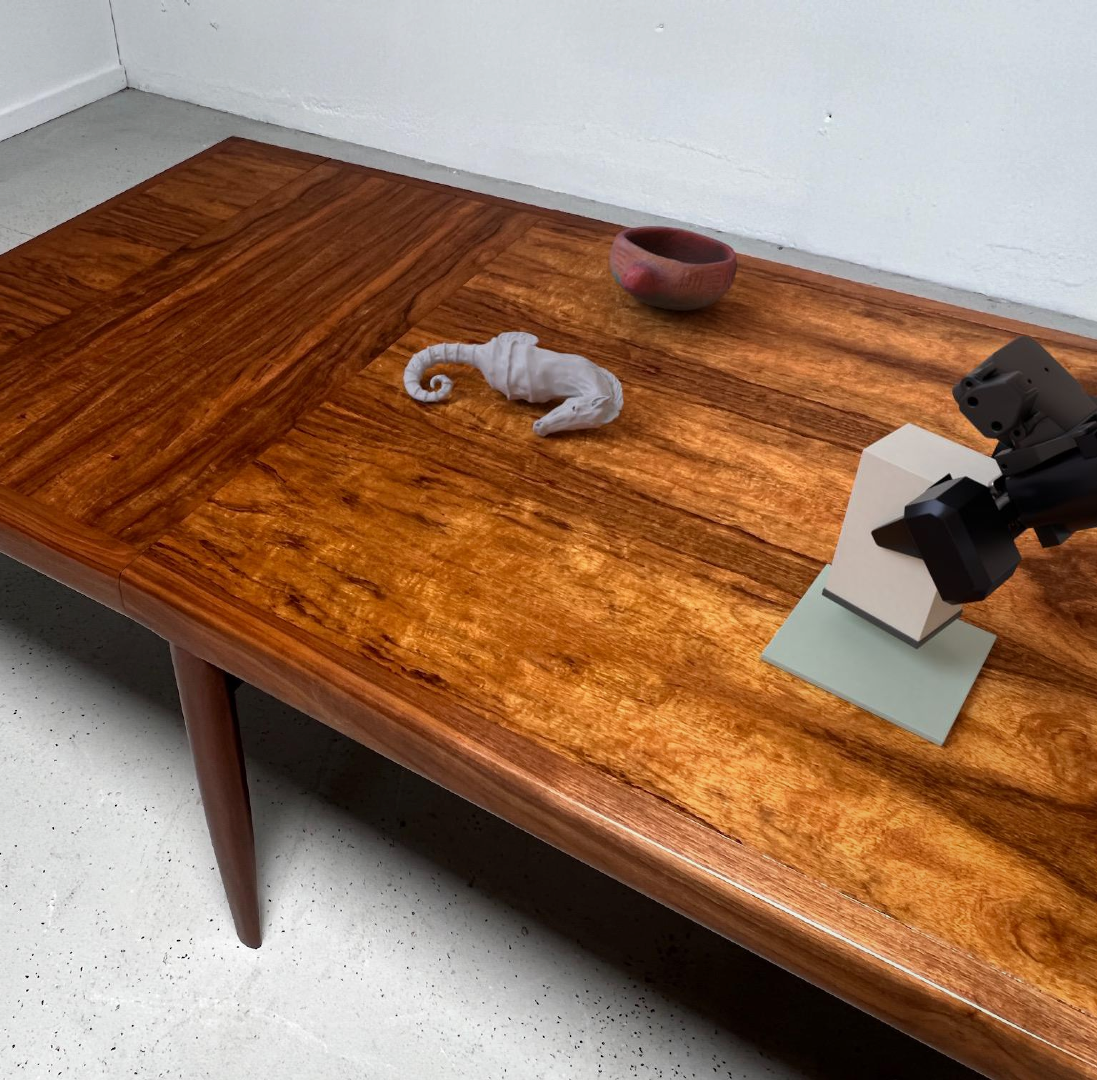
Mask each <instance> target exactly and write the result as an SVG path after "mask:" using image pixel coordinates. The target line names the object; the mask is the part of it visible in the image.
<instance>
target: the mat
mask: <svg viewBox="0 0 1097 1080" xmlns="http://www.w3.org/2000/svg"><path fill="white" fill-rule="evenodd" d="M831 566H832V564H830V563H826V564H825V566H824V567H823V568H822V570H821V571H820V572H819V574H818V576H816V578H815V579H814V581H813V582H812V584H811V585H810V586H809V587H808V589H807V591H806V592H805V593H804V594H803V596H802V597H801V598H800V600H799V602H798V603H797V604H796V605H795V607H793V609H792V611H791V612H790V614H789V615H788V616H787V618H786V619H785V620H784V622H783V623H782V624H781V626H780V628H779V629H778V630H777V632H776V633H775V634H774V636H773V637H772V639H771V640H770V641H769V642H768V644H767V645H766V647H765V648H764V649H763V651H762V653H761V654H760V656H759V659H760V660H761V661H764V662H766V663H768V664H770V665H772V666H774V667H776V668H778V669H780V670H782V671H784V672H787V673H789V674H790V675H792V676H795V677H797V678H798V679H800V680H803V681H805V682H807V683H809V684H811V685H813V686H816V687H817V688H819V689H821V690H823V691H826V692H827V693H829V694H832V695H834V696H835V697H838V698H840V699H842V700H844V701H846V702H847V703H850V704H852V705H855V706H857V707H859V708H860V709H863V710H865V711H867V712H869V713H871V714H873V715H875V716H877V717H879V718H881V719H883V720H885V721H887V722H889V723H892V724H893V725H896V726H898V727H900V728H902V729H904V730H906V731H907V732H910V733H912V734H914V735H916V736H917V737H920V738H923V740H926V741H928V742H930V743H932V744H934V745H936V746H939V747H943V745H944V744H945V741H946V739H947V737H948V736H949V733H950V731H951V729H952V727H953V725H954V724H955V722H956V719H957V717H958V715H959V714H960V711H961V710H962V707H963V705H964V703H965V701H966V699H967V697H968V696H969V694H970V692H971V689H972V687H973V685H974V684H975V682H976V679H977V678H978V676H979V674H980V672H981V670H982V668H983V666H984V663H985V661H986V660H987V658H988V655H989V653H990V651H991V649H992V647H993V645H994V644H995V642H996V640H997V638H998V636H997V635H996V634H994V633H991V632H989V631H987V630H984V629H982V628H979V627H977V626H975V625H973V624H970V623H968V622H966V621H963V620H962V619H959V618H958V619H956V620H955V621H954V622H952V623H951V624H950V625H948V626H947V627H946V628H944V629H943V630H942V631H941V632H939V633H938V634H937V635H935V636H934V637H933V638H931V639H930V640H929V641H927V642H926V643H925V644H923V645H922V646H921V647H920V648H918V649H915V648H913V647H912V646H910V645H908V644H906V643H905V642H903V641H901V640H899V639H898V638H896V637H894V636H892V635H891V634H889V633H887V632H885V631H884V630H882V629H880V628H879V627H877V626H875V625H873V624H872V623H870V622H868V621H866V620H865V619H863V618H861V617H859V616H858V615H856V614H854V613H852V612H851V611H849V610H847V609H845V608H844V607H842V606H840V605H838V604H837V603H835V602H833V601H831V600H830V599H828V598H826V597H824V596H823V595H822V591H823V588H825V587H826V584H827V580H828V577H829V573H830V570H831Z"/></svg>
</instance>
